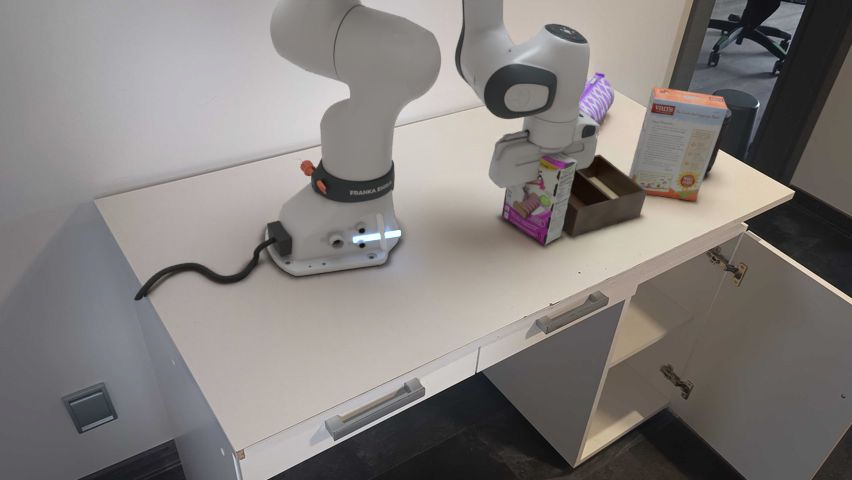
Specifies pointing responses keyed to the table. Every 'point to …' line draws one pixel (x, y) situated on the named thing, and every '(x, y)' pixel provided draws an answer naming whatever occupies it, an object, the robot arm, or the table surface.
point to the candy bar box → (543, 199)
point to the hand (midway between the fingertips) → (536, 195)
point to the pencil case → (596, 97)
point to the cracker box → (677, 142)
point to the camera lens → (719, 141)
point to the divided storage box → (601, 198)
